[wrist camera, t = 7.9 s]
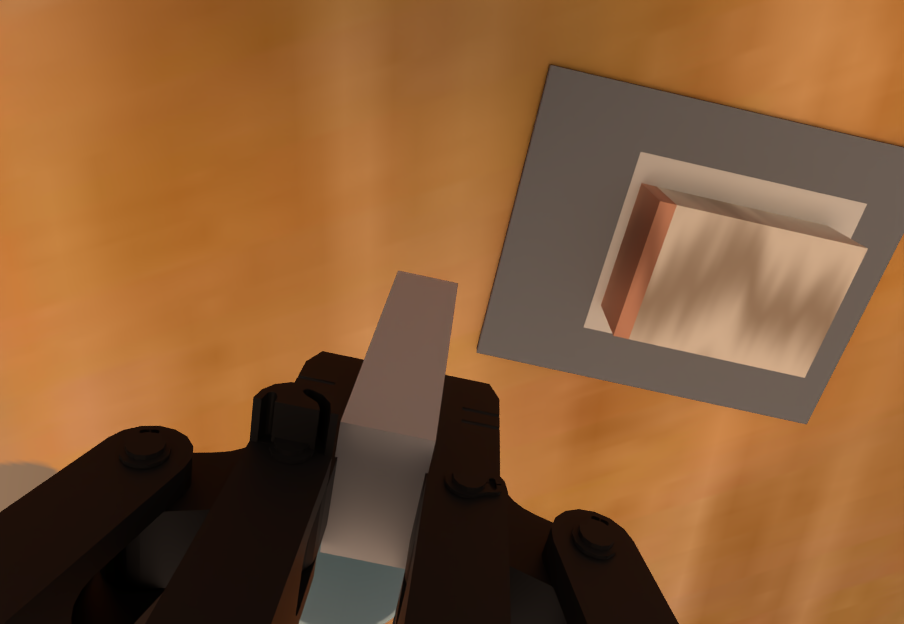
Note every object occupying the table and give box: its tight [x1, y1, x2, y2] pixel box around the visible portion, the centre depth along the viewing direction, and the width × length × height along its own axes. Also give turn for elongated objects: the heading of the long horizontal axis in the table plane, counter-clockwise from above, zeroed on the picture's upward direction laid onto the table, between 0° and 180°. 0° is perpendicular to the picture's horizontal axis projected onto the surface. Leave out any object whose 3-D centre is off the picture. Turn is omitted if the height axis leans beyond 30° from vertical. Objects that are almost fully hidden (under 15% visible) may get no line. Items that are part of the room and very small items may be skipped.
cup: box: [299, 541, 405, 624], centre depth 37 cm, size 8×8×10 cm
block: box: [601, 183, 868, 378], centre depth 34 cm, size 7×4×10 cm
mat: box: [477, 65, 904, 424], centre depth 36 cm, size 16×20×1 cm
